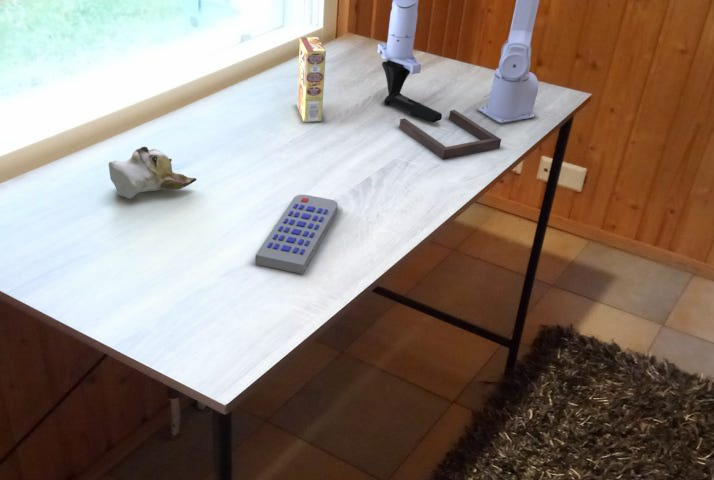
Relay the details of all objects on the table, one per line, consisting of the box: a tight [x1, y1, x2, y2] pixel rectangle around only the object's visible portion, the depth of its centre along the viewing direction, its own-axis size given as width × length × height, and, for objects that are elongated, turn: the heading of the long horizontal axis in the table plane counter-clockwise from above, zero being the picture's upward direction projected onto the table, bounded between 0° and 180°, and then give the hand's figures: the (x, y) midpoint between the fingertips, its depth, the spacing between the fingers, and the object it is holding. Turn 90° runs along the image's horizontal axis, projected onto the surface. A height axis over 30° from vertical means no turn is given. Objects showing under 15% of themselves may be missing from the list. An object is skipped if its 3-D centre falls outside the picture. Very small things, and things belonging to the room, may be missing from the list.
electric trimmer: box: [383, 92, 443, 123], centre depth 178 cm, size 4×16×3 cm, turn 36°
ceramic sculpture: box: [108, 146, 197, 200], centre depth 146 cm, size 11×9×15 cm
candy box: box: [297, 36, 327, 123], centre depth 173 cm, size 9×4×15 cm, turn 8°
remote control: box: [254, 194, 339, 275], centre depth 137 cm, size 8×23×2 cm, turn 160°
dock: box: [398, 109, 502, 160], centre depth 169 cm, size 14×16×2 cm
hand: (393, 94), depth 184 cm, fingers closed
